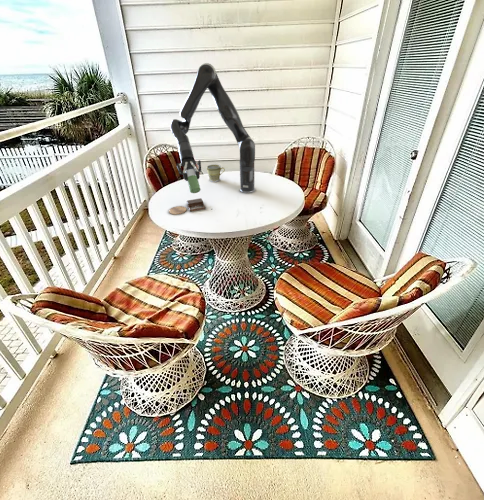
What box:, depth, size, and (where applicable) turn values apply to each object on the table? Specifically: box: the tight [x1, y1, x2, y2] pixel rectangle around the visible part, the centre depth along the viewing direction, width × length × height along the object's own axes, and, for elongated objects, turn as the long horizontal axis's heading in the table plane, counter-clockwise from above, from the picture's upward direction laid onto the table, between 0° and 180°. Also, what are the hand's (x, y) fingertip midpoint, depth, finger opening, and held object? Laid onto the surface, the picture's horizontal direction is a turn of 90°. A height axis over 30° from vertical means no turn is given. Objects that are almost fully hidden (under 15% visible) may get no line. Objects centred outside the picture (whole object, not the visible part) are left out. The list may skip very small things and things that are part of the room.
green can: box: [185, 169, 201, 194], centre depth 153 cm, size 12×6×12 cm, turn 18°
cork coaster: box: [168, 205, 187, 215], centre depth 159 cm, size 10×10×1 cm
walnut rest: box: [186, 198, 206, 213], centre depth 161 cm, size 10×9×3 cm
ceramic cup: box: [206, 164, 226, 183], centre depth 196 cm, size 13×10×10 cm
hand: (192, 179), depth 153 cm, fingers closed on green can, 6 cm apart
